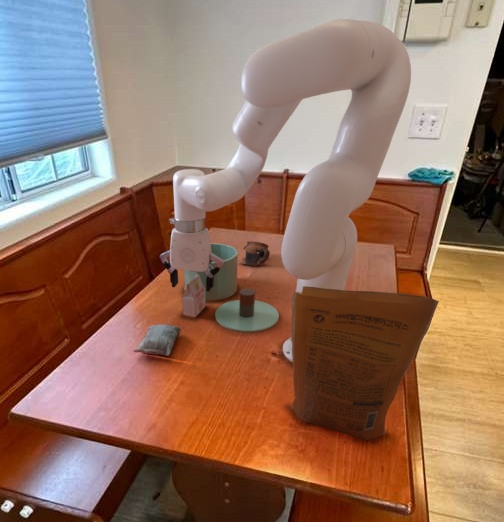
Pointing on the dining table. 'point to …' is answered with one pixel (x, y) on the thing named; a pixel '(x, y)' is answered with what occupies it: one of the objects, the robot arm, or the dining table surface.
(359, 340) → the pancake mix bag
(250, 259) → the pottery mug
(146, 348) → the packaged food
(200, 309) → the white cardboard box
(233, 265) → the pot
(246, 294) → the lid
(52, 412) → the dining table surface
